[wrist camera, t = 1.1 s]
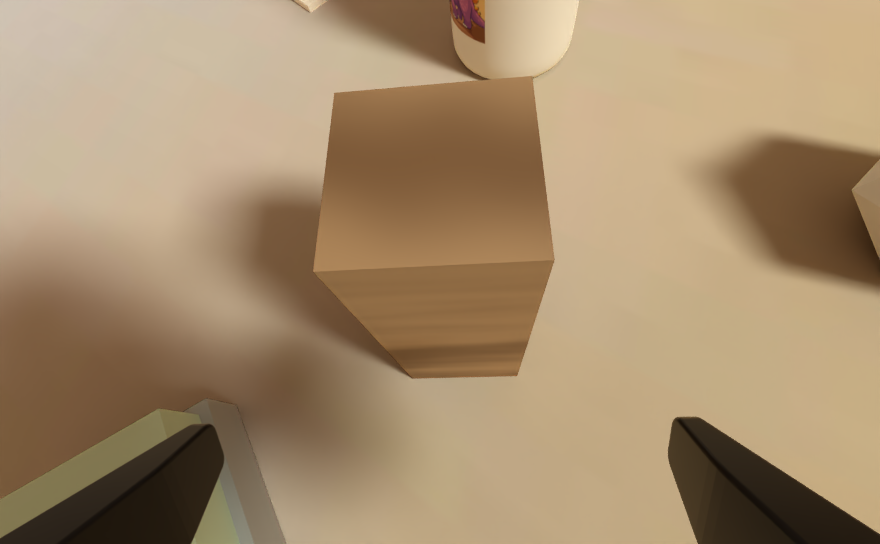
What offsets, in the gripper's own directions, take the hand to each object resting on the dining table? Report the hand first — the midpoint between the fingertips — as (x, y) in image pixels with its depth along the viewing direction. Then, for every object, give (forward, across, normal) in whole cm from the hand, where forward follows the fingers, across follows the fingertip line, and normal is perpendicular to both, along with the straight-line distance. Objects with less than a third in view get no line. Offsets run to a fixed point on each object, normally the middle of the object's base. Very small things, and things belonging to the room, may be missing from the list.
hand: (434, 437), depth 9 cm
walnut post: (+13, 0, +4) cm, 13 cm away
